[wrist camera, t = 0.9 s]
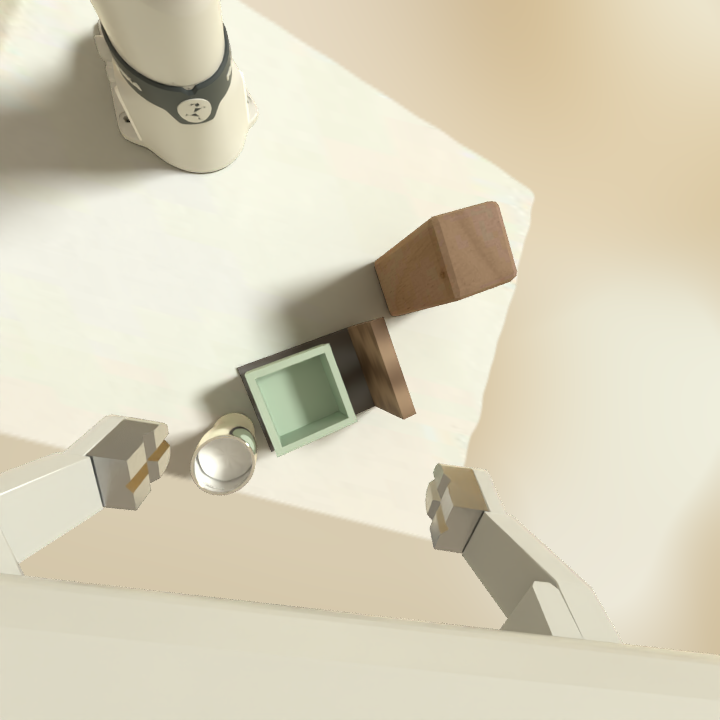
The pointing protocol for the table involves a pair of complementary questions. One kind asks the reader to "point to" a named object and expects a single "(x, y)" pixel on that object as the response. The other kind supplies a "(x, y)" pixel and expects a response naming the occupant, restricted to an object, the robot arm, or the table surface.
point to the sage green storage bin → (301, 398)
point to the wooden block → (447, 260)
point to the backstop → (356, 369)
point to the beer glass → (225, 456)
